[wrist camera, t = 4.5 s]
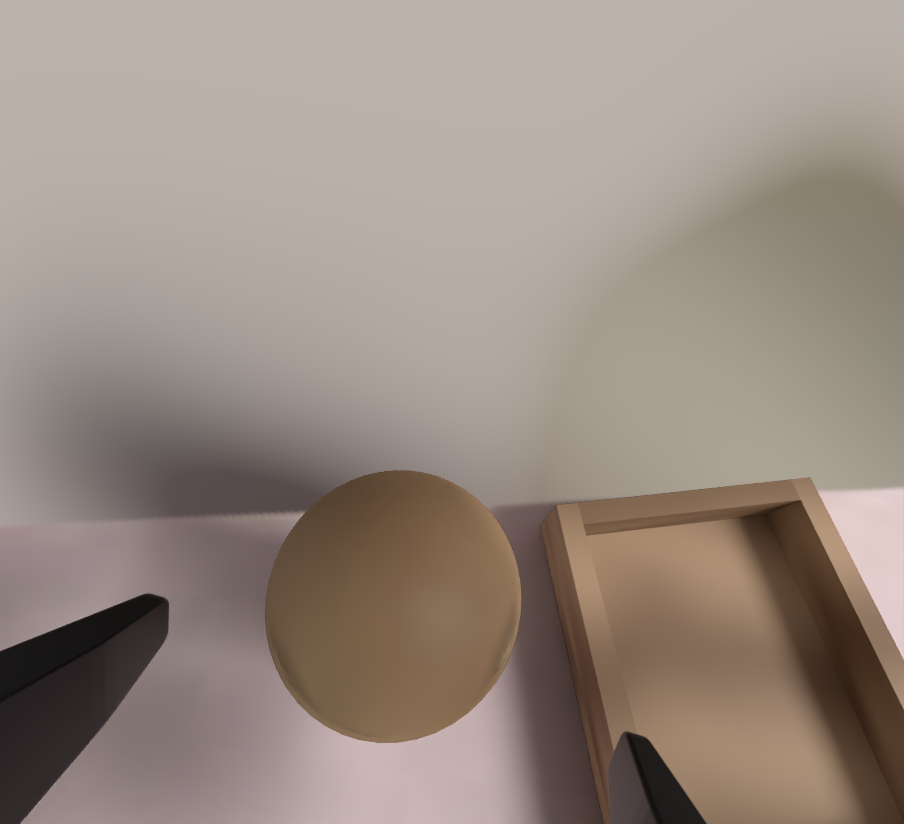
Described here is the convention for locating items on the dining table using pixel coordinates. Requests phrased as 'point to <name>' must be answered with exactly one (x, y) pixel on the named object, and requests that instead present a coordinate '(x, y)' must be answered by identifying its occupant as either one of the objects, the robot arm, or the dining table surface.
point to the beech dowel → (393, 606)
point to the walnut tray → (733, 652)
